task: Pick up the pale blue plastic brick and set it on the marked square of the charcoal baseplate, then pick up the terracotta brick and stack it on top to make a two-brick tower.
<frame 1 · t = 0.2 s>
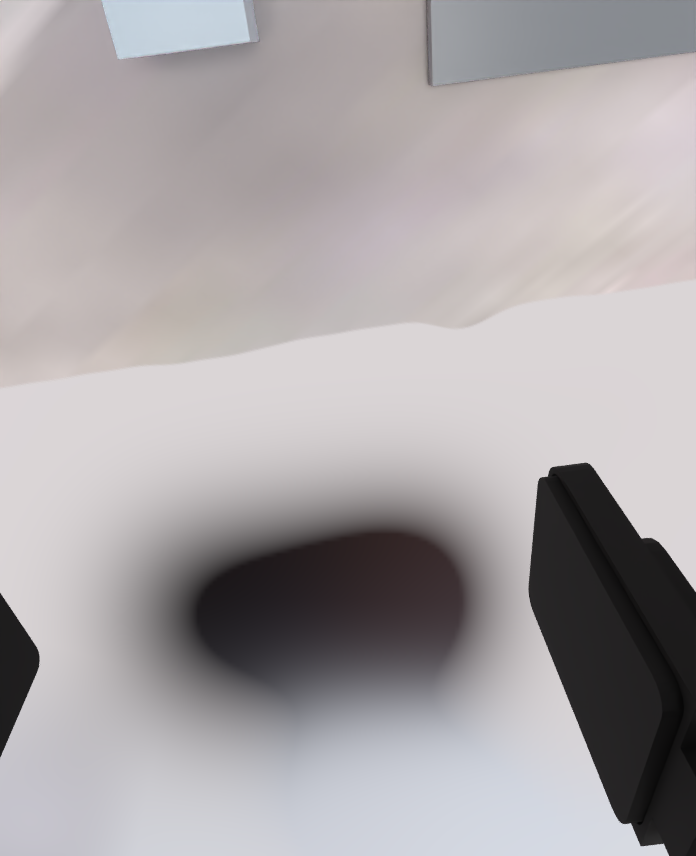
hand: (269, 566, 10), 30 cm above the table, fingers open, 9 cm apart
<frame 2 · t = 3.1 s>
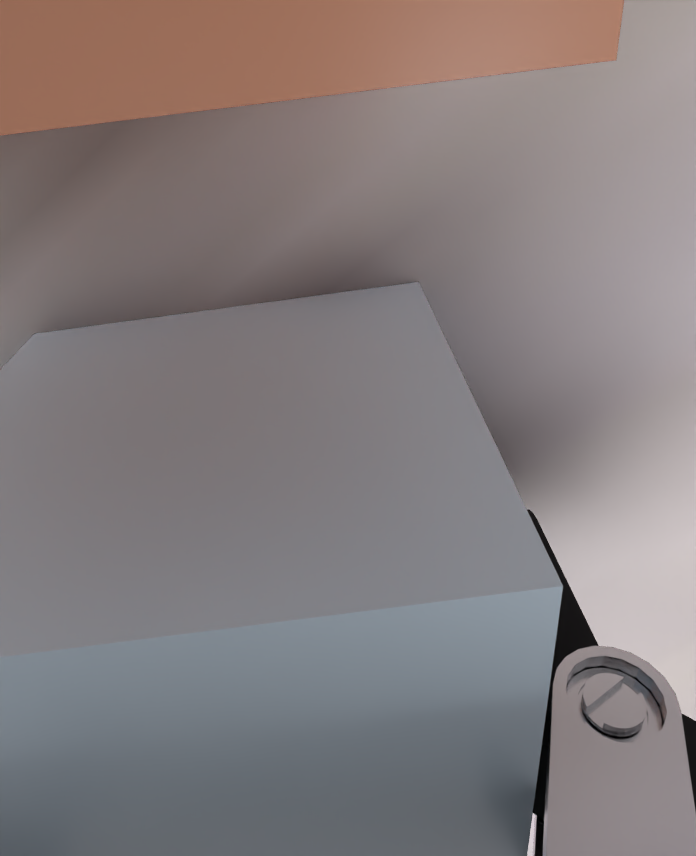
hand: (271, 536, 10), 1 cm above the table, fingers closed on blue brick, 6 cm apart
blue brick: (274, 502, 11), on the table, touching gripper
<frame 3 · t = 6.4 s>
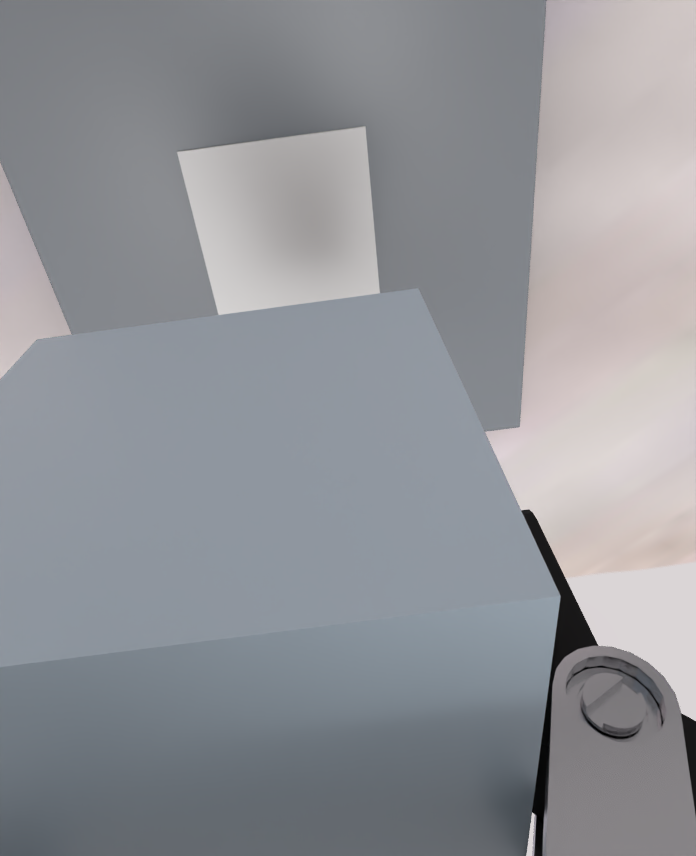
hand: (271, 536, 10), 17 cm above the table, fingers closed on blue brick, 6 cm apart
baseplate: (292, 249, 25), on the table
blue brick: (274, 506, 11), point 17 cm above the table, touching gripper
when the fingers open (3 cm above the table, at t = 9.5 s): blue brick stays where it is, resting on baseplate.
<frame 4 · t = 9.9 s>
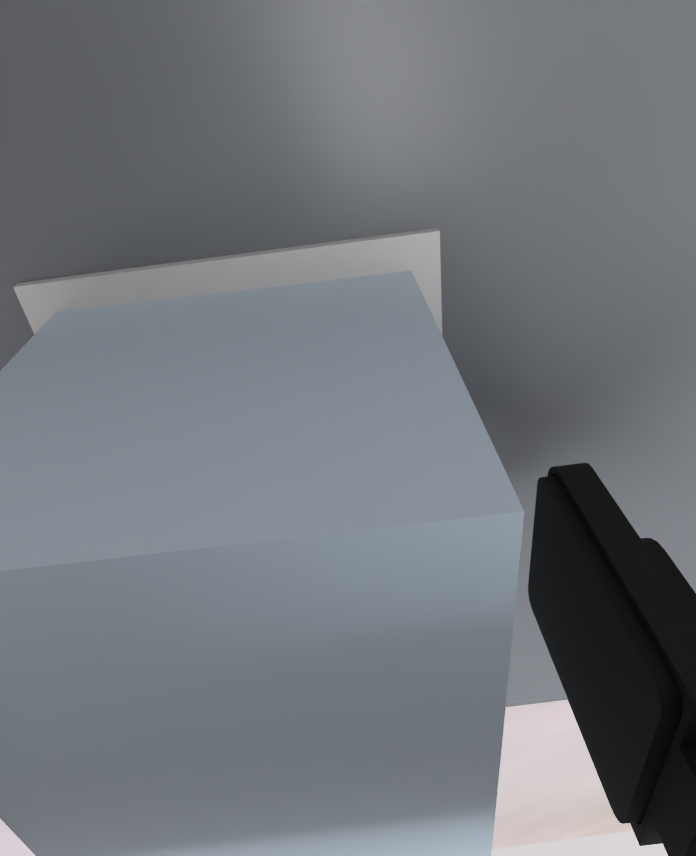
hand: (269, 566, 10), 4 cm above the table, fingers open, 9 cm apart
baseplate: (278, 437, 13), on the table
blue brick: (273, 477, 12), point 1 cm above the table, touching baseplate
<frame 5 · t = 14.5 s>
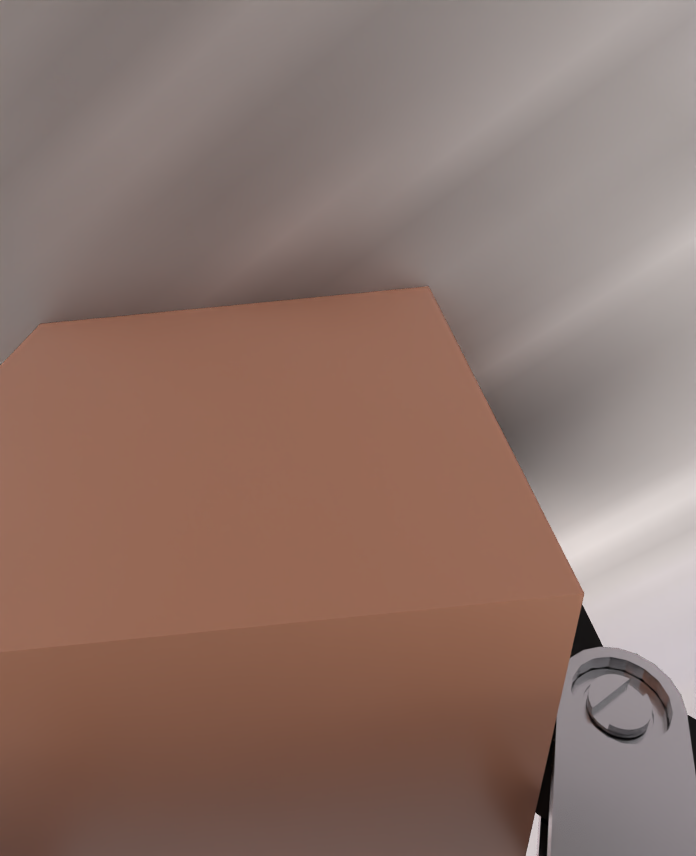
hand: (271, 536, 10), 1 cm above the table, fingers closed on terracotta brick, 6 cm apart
terracotta brick: (273, 501, 11), on the table, touching gripper
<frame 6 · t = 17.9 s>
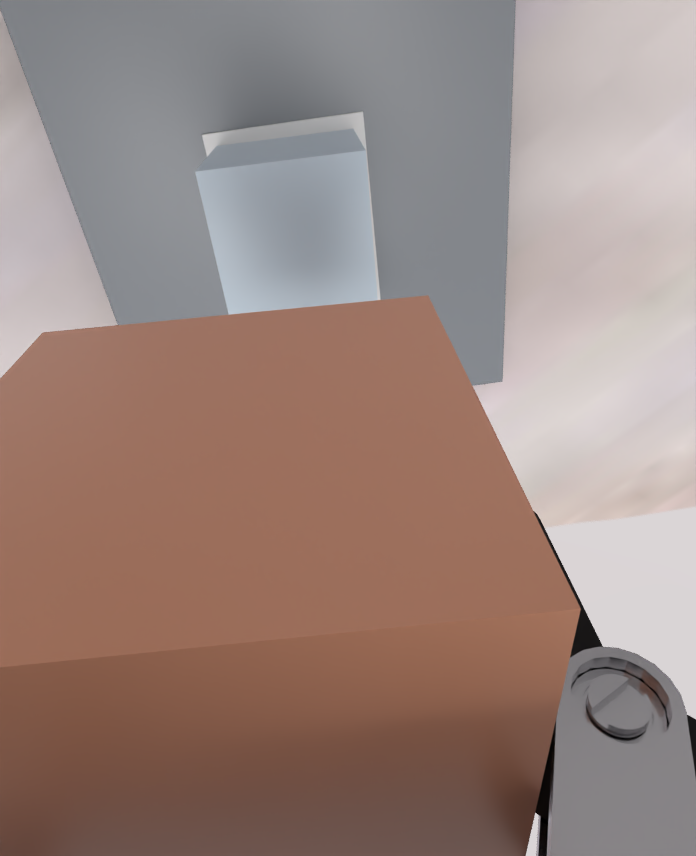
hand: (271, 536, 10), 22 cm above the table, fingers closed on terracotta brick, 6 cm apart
baseplate: (299, 221, 28), on the table
terracotta brick: (274, 507, 11), point 21 cm above the table, touching gripper
blue brick: (298, 230, 27), point 1 cm above the table, touching baseplate
when the fingers open (9 cm above the table, at t = 21.4 s): terracotta brick stays where it is, resting on blue brick.
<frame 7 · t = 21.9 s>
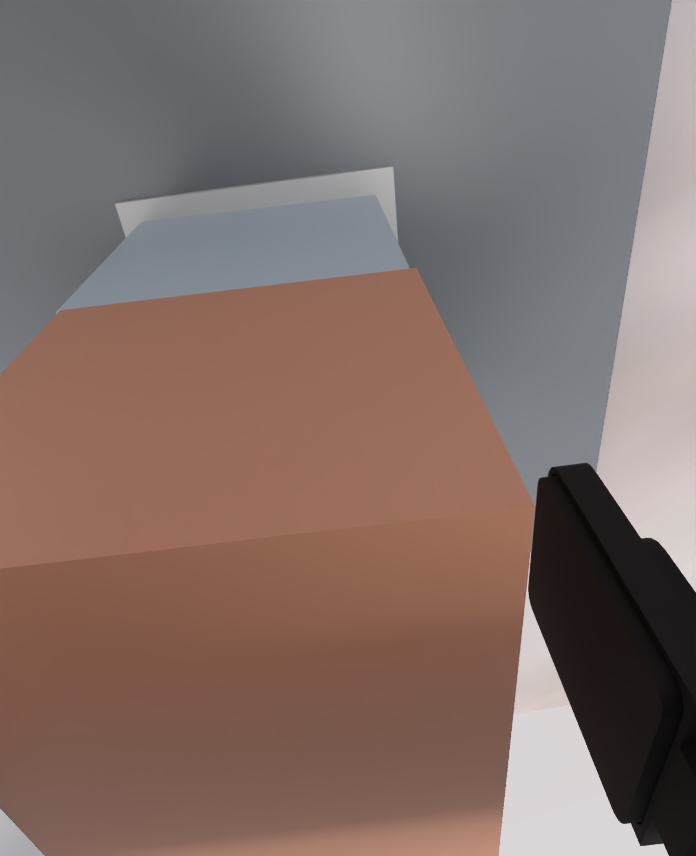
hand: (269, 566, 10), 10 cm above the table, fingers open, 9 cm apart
baseplate: (286, 328, 18), on the table
terracotta brick: (278, 475, 12), point 7 cm above the table, touching blue brick
blue brick: (283, 350, 17), point 1 cm above the table, touching baseplate, terracotta brick
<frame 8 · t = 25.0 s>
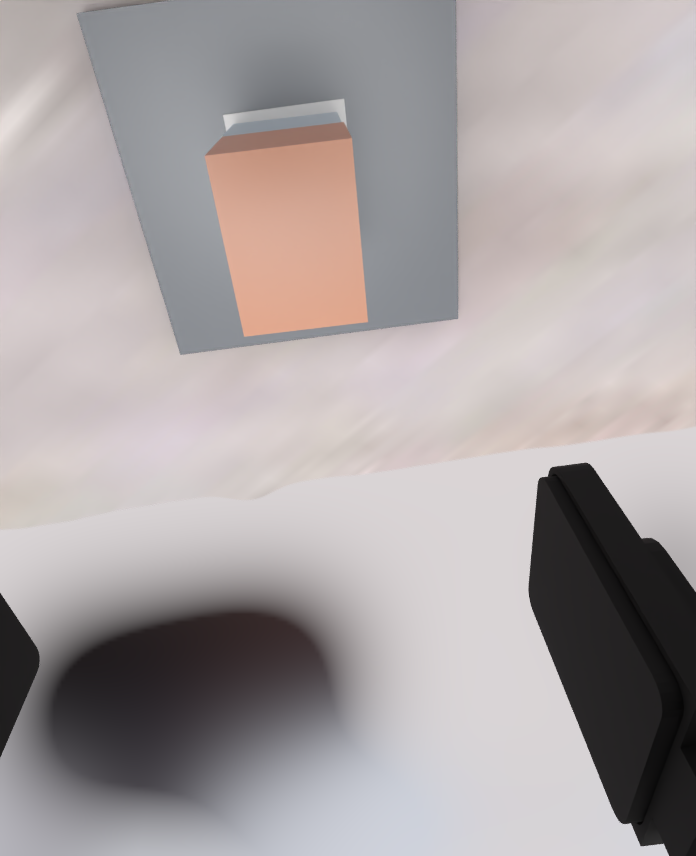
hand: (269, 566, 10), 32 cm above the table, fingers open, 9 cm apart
baseplate: (296, 185, 37), on the table
terracotta brick: (295, 213, 31), point 7 cm above the table, touching blue brick
blue brick: (295, 190, 36), point 1 cm above the table, touching baseplate, terracotta brick
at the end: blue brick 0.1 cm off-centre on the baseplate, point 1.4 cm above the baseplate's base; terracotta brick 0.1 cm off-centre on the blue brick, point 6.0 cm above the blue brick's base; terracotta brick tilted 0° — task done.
